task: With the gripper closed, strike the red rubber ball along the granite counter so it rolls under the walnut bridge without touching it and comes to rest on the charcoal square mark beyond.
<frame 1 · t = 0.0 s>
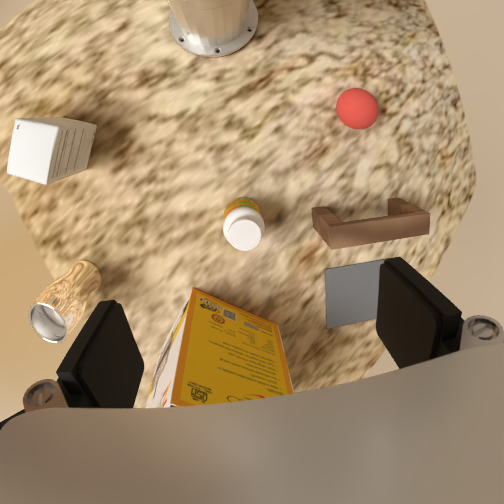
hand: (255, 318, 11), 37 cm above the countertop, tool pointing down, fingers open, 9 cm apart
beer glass: (86, 275, 49), on the countertop
bridge: (357, 211, 48), on the countertop
packaging box: (216, 340, 56), on the countertop
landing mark: (358, 294, 54), on the countertop
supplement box: (74, 143, 41), on the countertop
supplement bottle: (242, 214, 47), on the countertop
ball: (357, 108, 39), on the countertop
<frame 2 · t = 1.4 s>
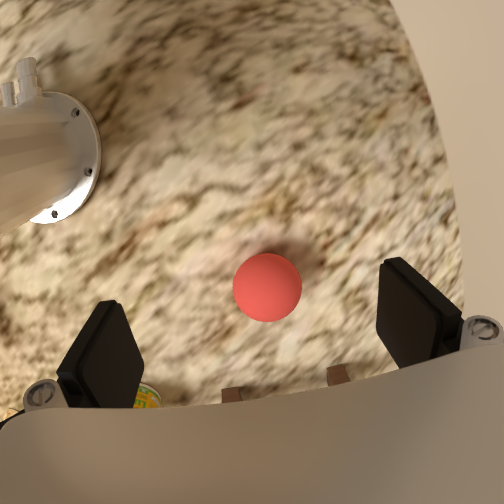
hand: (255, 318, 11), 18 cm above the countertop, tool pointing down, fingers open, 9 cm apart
bridge: (284, 386, 37), on the countertop
supplement bottle: (141, 394, 36), on the countertop
ball: (267, 287, 28), on the countertop
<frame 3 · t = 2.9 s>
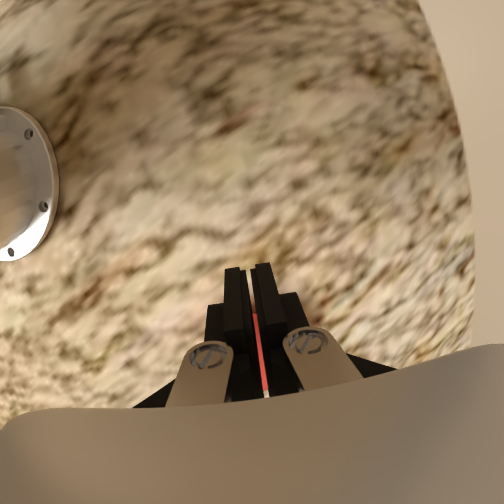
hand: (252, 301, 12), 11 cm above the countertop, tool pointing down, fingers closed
ball: (251, 353, 23), on the countertop
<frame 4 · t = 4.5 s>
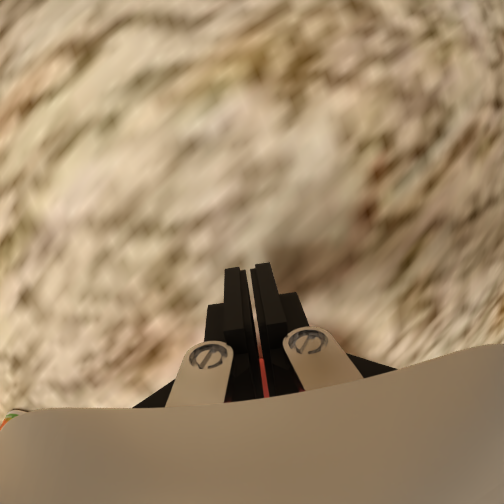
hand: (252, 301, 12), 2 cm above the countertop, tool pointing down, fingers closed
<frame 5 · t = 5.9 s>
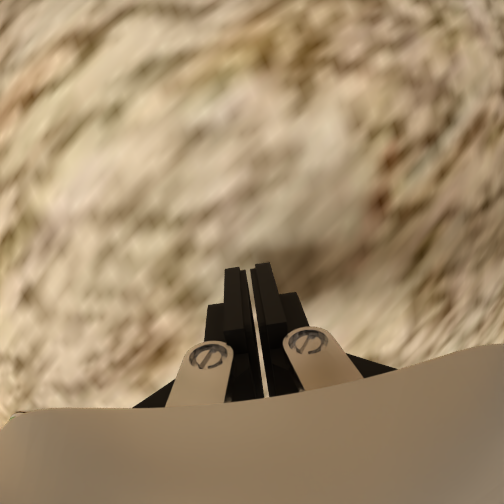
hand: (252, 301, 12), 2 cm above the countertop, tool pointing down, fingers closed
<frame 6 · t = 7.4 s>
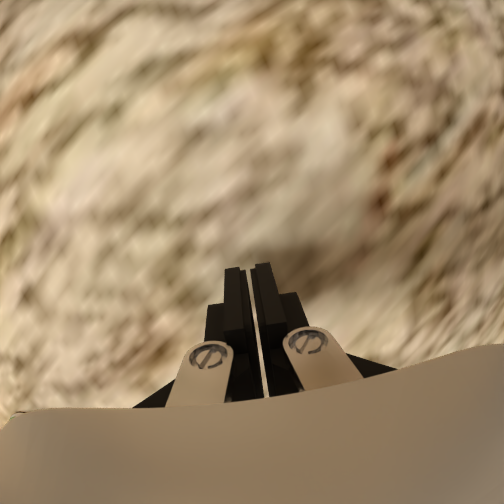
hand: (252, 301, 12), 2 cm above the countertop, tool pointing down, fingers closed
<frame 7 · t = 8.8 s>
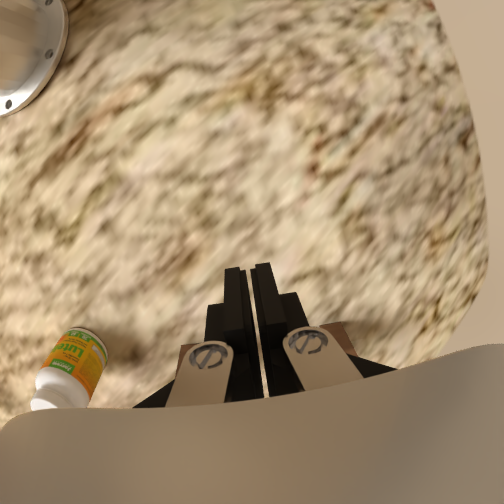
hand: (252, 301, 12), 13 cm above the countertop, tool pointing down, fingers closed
bridge: (262, 347, 29), on the countertop
supplement bottle: (85, 346, 28), on the countertop
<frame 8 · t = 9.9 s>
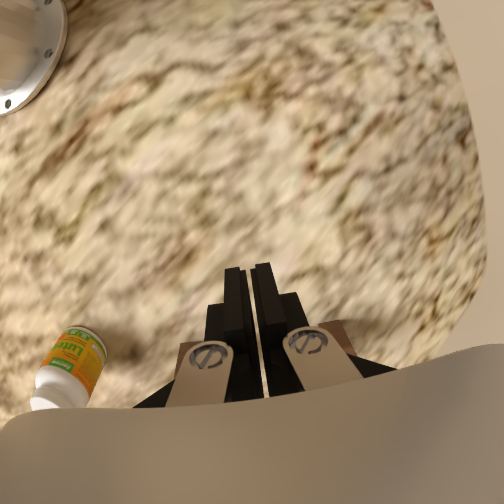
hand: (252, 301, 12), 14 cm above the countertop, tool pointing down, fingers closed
bridge: (261, 346, 29), on the countertop
supplement bottle: (85, 345, 29), on the countertop
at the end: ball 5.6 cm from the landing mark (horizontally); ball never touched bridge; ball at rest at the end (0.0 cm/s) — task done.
